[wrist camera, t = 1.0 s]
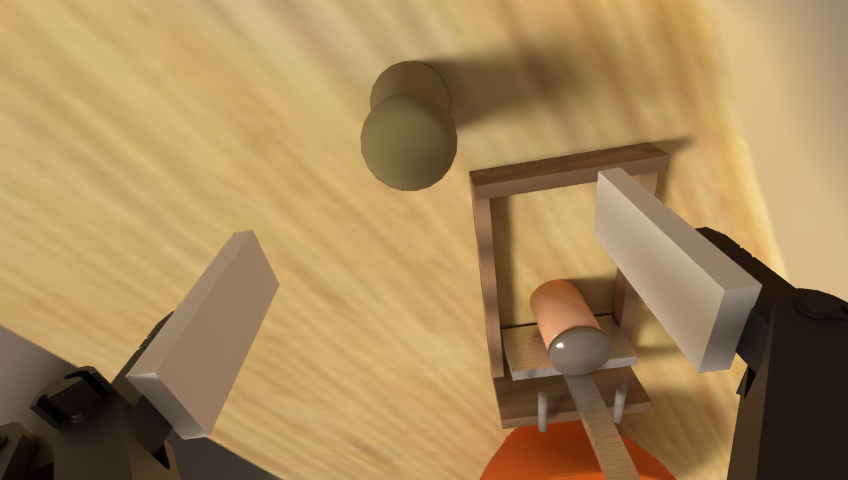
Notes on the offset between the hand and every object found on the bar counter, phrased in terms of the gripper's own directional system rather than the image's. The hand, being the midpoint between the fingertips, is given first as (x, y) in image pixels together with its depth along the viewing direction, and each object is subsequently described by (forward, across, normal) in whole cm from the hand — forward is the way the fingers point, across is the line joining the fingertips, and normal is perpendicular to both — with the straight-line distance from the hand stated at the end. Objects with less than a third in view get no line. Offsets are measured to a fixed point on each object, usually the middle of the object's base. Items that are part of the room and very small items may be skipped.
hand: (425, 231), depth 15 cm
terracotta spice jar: (+17, +10, -20) cm, 28 cm away
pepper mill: (+17, 0, +1) cm, 17 cm away
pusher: (+16, +10, -24) cm, 31 cm away
